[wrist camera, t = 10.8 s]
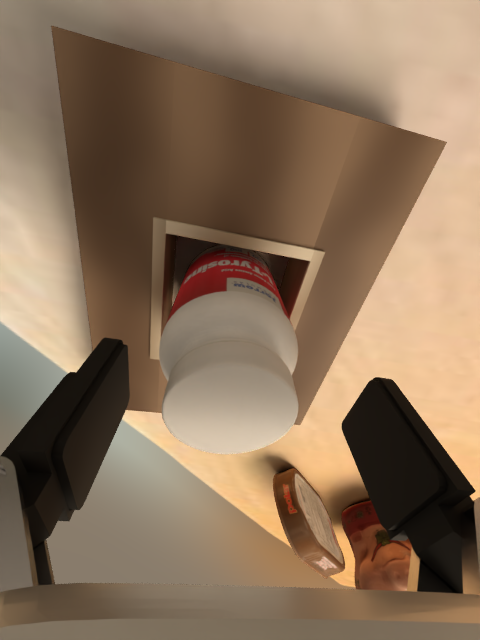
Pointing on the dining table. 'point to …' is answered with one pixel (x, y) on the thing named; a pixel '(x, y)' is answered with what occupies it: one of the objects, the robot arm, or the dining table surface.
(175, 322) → the pill bottle
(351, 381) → the dining table surface
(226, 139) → the socket board
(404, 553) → the decorative planter
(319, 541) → the tin
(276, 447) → the dining table surface
